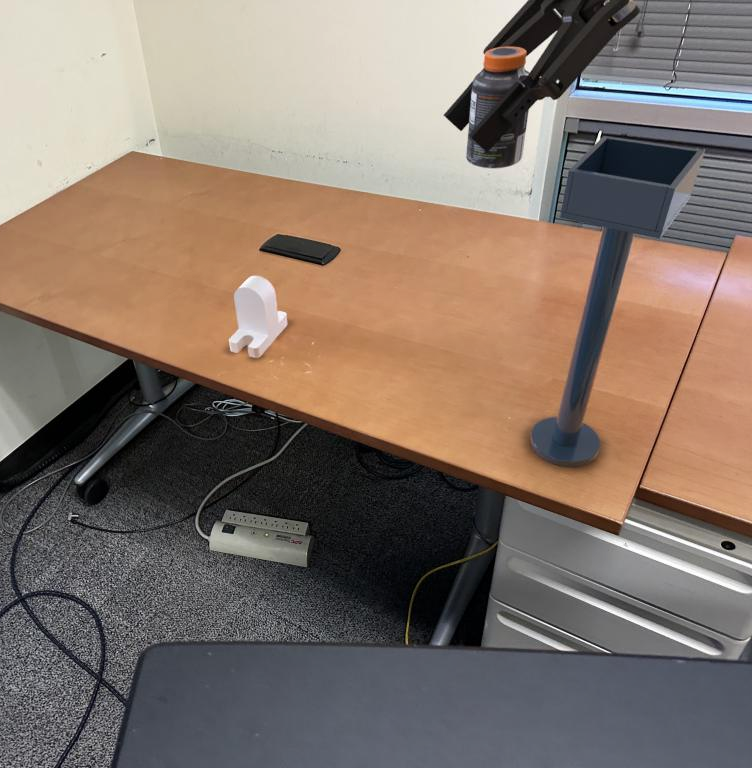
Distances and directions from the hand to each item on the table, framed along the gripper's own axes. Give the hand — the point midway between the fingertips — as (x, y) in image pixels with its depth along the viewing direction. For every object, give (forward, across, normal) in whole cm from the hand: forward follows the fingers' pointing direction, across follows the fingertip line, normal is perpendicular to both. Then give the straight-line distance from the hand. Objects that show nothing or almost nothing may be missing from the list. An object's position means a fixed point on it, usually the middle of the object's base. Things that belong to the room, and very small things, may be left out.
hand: (464, 133), depth 74 cm
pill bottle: (0, 0, +5) cm, 5 cm away
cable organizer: (+40, -17, +8) cm, 44 cm away
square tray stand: (+18, +17, +30) cm, 39 cm away
